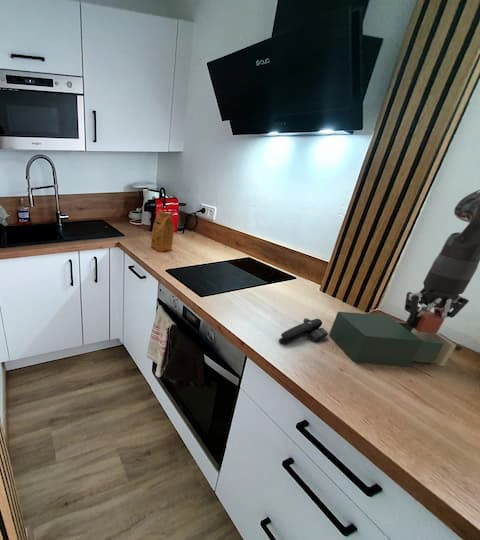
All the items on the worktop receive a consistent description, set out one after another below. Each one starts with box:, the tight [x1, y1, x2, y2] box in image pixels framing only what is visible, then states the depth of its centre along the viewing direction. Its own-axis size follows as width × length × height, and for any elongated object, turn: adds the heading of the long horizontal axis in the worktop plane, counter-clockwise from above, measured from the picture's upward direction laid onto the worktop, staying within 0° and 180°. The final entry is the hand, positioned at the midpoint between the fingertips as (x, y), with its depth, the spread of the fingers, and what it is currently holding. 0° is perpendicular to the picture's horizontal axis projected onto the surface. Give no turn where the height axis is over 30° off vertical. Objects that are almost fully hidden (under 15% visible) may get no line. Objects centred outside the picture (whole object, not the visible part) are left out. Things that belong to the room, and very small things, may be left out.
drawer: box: [395, 320, 463, 367], centre depth 83 cm, size 18×11×7 cm, turn 84°
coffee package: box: [150, 209, 175, 253], centre depth 162 cm, size 10×12×22 cm
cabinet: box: [328, 311, 423, 368], centre depth 84 cm, size 15×13×9 cm
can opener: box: [278, 317, 329, 345], centre depth 89 cm, size 18×7×6 cm, turn 111°
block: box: [405, 309, 446, 333], centre depth 80 cm, size 5×5×5 cm
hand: (421, 326), depth 81 cm, fingers closed on block, 4 cm apart
